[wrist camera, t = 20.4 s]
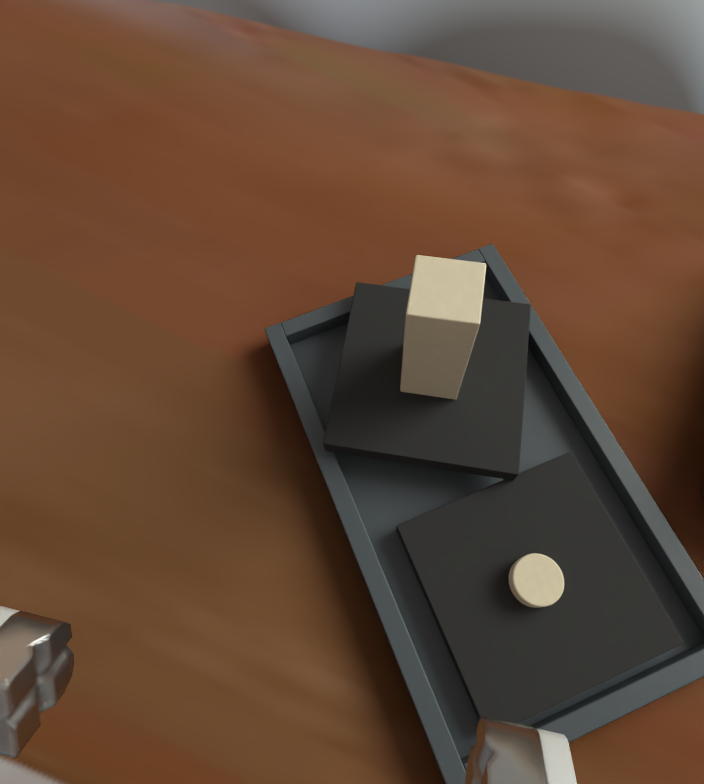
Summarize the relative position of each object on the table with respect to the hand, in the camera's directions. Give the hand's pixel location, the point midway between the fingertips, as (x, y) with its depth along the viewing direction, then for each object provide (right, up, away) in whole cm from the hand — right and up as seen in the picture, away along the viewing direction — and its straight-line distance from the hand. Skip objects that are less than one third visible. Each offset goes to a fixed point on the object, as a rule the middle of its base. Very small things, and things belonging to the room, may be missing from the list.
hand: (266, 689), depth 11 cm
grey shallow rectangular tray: (+8, +1, +21) cm, 22 cm away
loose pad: (+6, +6, +21) cm, 23 cm away
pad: (+10, -4, +18) cm, 21 cm away
